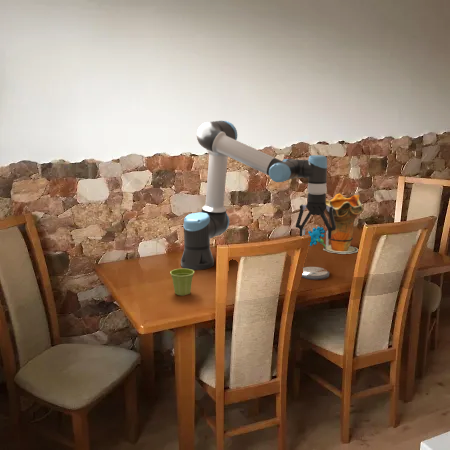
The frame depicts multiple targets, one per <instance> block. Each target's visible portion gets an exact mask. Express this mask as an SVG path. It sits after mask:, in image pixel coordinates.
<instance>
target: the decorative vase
mask: <svg viewBox="0 0 450 450" xmlns="http://www.w3.org/2000/svg"><path fill="white" fill-rule="evenodd" d="M360 197H361V195H360V194H354V195H351V197H346V196H344V195H343V194H342V193H336V194H335V195H334V197H333V198H332V199H330V200H329V199H326V205H327V206H330V207H331V206H333V215H334V220H335V224H336V229H335V230H333V231H332V233H331V238H330V239H329V241H330V244H328V247H324V246H323V251H326V252H328V253H333V254H339V255H340V254H341V255H346V254H354V253H358V252H359V251H358V250H359V248H357V247H356V246H353V245H352V240H354V238H353V234H354V230H355V229H354V226H355V221H356V219H357V217H358V216H359V214H361V213H363V212H364V210H365V209H364V206H363V204H362V203H361V201H360ZM324 213H325V216H326V217H328V222H329V224H330V226H331V227H332V224H331V220H330V215H329V212H328V210H327V209H325V211H324Z"/></svg>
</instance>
